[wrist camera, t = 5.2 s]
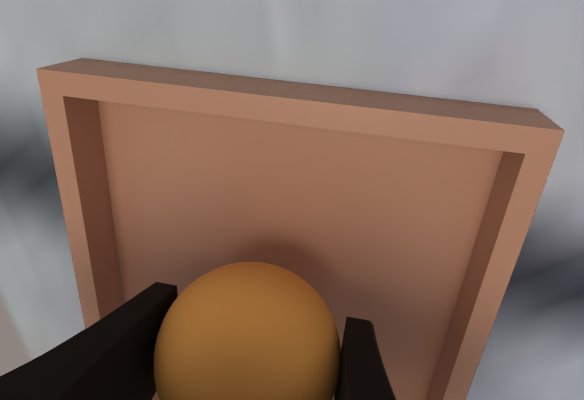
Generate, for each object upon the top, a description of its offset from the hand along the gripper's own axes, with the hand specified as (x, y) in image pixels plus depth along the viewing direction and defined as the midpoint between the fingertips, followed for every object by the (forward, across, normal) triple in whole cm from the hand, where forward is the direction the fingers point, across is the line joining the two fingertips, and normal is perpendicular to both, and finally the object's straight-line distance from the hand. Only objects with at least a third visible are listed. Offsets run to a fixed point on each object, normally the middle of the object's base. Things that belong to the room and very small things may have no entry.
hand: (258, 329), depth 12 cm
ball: (-1, 0, 0) cm, 1 cm away
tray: (+3, 0, 0) cm, 3 cm away
